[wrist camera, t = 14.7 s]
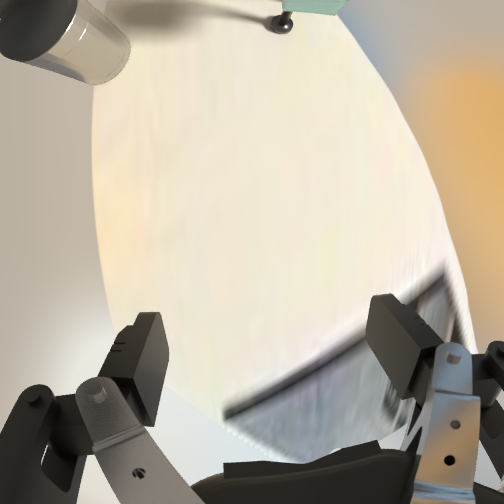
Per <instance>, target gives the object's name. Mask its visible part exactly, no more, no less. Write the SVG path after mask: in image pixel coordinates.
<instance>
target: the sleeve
mask: <svg viewBox="0 0 504 504" xmlns="http://www.w3.org/2000/svg"><path fill="white" fill-rule="evenodd" d="M347 1H348V0H282V8H283V11H294V12H306V13H316V14H325V15H333V16H335V15H336V14H337V13H338V11H339V10H340V9H341V8H342V7H343V6H344V5H345V4H346V2H347Z"/></svg>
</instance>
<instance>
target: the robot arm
mask: <svg viewBox="0 0 504 504" xmlns="http://www.w3.org/2000/svg"><path fill="white" fill-rule="evenodd" d="M0 18H1V20H0V52H1V54H2V55H4V56H5V57H7V58H9V59H12V60H16V61H20V62H23V63H27V64H30V65H33V66H37V67H40V68H44V69H47V70H50V71H53V72H56V73H59V74H62V75H65V76H68V77H71V78H74V79H77V80H79V81H82V82H85V83H88V84H93V85H97V84H102V83H105V82H107V81H109V80H111V79H113V78H114V77H115V76H116V75H118V74H119V73H120V71H121V70H122V69H123V68H124V66H125V65H126V63H127V61H128V58H129V55H130V43H129V41H128V39H127V37H126V36H125V35H124V34H123V33H122V32H121V31H120V30H119V29H118V28H117V27H116V26H115V25H114V24H113V23H112V22H110V21H109V20H108V19H107V18H106V17H105V16H104V15H103V14H102V13H101V12H100V11H98V10H97V9H96V8H95V7H94V6H93V5H92V4H91V3H89V2H88V1H87V0H0ZM366 339H367V342H368V344H369V346H370V348H371V349H372V351H373V353H374V354H375V356H376V357H377V359H378V361H379V362H380V364H381V366H382V367H383V369H384V371H385V372H386V374H387V376H388V377H389V379H390V381H391V382H392V384H393V386H394V387H395V389H396V391H397V392H398V394H399V396H400V398H401V399H402V400H404V399H407V398H411V397H414V398H415V402H414V404H413V407H412V411H411V415H410V419H409V422H408V426H407V429H406V433H405V436H404V440H403V442H402V445H401V448H400V450H396V449H381V448H380V446H379V443H378V441H377V440H374V441H371V442H367V443H363V444H359V445H355V446H351V447H347V448H342V449H340V450H338V451H336V452H334V453H331V454H329V455H327V456H324V457H322V458H320V459H317V460H315V461H312V462H310V463H306V464H296V463H282V462H271V461H253V462H236V463H223V464H224V465H223V466H224V473H220V474H216V475H213V476H210V477H207V478H205V479H203V480H200V481H199V482H197V483H195V484H193V485H192V486H189V485H188V484H187V483H186V482H185V480H184V479H183V478H182V477H181V475H180V474H179V473H178V472H177V471H176V470H175V468H174V467H173V466H172V464H171V463H170V462H169V460H168V459H167V458H166V456H165V455H164V454H163V452H162V451H161V450H160V448H159V447H158V446H157V445H156V443H155V441H154V440H153V439H152V437H151V436H150V434H149V433H148V431H147V430H146V429H145V427H144V426H148V427H154V425H155V420H156V415H157V410H158V406H159V401H160V396H161V392H162V388H163V383H164V379H165V375H166V370H167V366H168V362H169V347H168V342H167V338H166V334H165V330H164V326H163V321H162V317H161V314H160V313H159V312H140V313H139V314H138V316H137V318H136V320H135V322H134V324H133V325H127V326H126V327H125V328H124V329H123V330H122V331H120V332H119V333H118V335H117V337H116V339H115V341H114V344H113V345H112V347H111V349H110V352H109V353H108V355H107V357H106V359H105V361H104V364H103V366H102V368H101V370H100V372H99V374H98V376H97V377H94V378H91V379H88V380H86V381H85V382H83V383H82V384H81V385H80V386H79V387H78V389H77V391H76V394H69V395H62V396H54V394H53V392H52V391H51V389H50V388H49V387H48V386H46V385H41V384H38V385H33V386H30V387H28V388H27V389H25V390H24V391H23V392H22V393H21V395H20V396H19V398H18V400H17V402H16V403H15V405H14V407H13V409H12V411H11V413H10V415H9V417H8V419H7V421H6V423H5V425H4V427H3V429H2V431H1V433H0V504H76V502H77V497H78V493H79V488H80V483H81V479H82V474H83V470H84V466H85V462H86V458H87V455H94V454H95V456H96V458H97V460H98V463H99V465H100V467H101V469H102V471H103V473H104V474H105V477H106V478H107V480H108V482H109V484H110V486H111V488H112V489H113V491H114V493H115V495H116V497H117V498H118V500H119V502H120V503H121V504H504V410H503V409H502V407H501V406H500V404H499V403H498V401H497V400H496V398H497V396H498V395H499V393H500V391H501V390H503V391H504V342H502V341H493V342H491V343H490V344H489V346H488V348H487V351H486V353H485V354H471V353H470V352H469V351H468V349H466V348H465V347H464V346H462V345H460V344H457V343H452V342H447V343H444V341H443V340H442V339H441V338H440V337H439V336H438V335H437V334H436V333H435V332H434V331H433V329H432V328H431V327H430V326H429V325H428V324H426V322H425V321H424V320H423V319H422V318H421V317H420V316H419V315H418V313H417V312H416V311H415V310H414V309H412V308H410V307H408V306H406V305H405V304H401V303H400V302H399V301H398V299H397V298H396V297H395V296H394V295H393V294H391V293H389V294H382V295H375V296H373V297H372V299H371V302H370V308H369V314H368V320H367V325H366ZM479 440H480V441H481V443H482V445H483V447H484V449H485V450H486V452H487V454H488V456H489V458H490V460H491V461H492V463H493V465H494V467H495V469H496V471H497V473H498V475H499V477H500V479H501V488H500V489H499V490H498V491H497V490H494V489H492V488H489V487H486V486H484V485H481V484H479V483H476V482H474V476H475V469H476V461H477V454H478V443H479ZM46 445H48V447H47V450H46V453H45V456H44V459H43V462H42V465H41V460H42V457H43V454H44V451H45V448H46Z"/></svg>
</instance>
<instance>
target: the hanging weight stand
mask: <svg viewBox="0 0 504 504" xmlns="http://www.w3.org/2000/svg"><path fill="white" fill-rule="evenodd" d="M292 12H293V11H283V12H282V14H281V15H277V16H275V17H274V18H273V19H272V22H271V28H272V29H273V30H274V31H275V32H276V33H279V34H286V33H288V32H290V31H291V29H292V27H293V22H292V20H291V19H290V16H291V14H292Z"/></svg>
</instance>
